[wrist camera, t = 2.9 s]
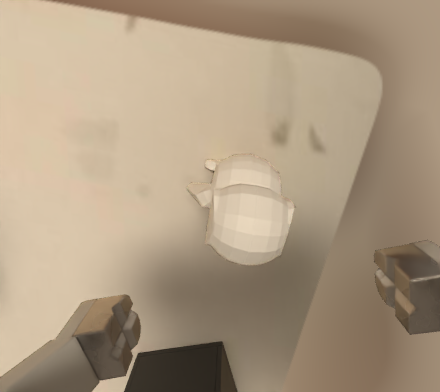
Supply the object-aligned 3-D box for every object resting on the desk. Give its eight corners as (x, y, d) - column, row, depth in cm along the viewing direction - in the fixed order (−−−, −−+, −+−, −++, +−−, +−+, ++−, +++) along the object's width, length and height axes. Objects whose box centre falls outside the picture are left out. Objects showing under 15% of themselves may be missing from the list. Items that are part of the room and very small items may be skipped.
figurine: (191, 186, 24) (156, 269, 12) (198, 134, 22) (165, 173, 11) (281, 202, 24) (326, 297, 13) (295, 151, 22) (360, 207, 11)
